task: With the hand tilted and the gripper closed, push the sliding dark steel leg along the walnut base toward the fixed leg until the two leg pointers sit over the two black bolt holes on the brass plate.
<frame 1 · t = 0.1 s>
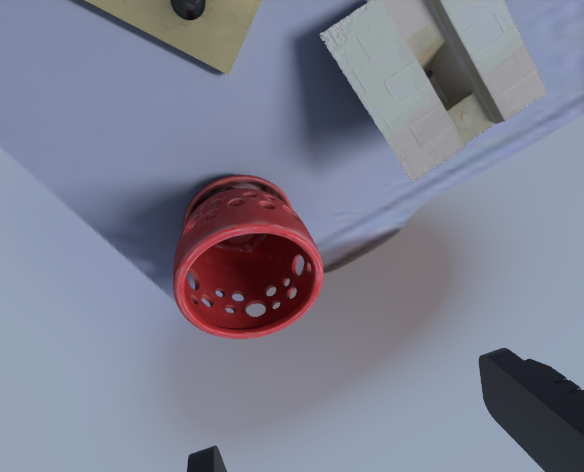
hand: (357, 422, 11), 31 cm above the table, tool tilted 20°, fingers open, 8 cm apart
plant pot: (233, 216, 43), on the table
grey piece: (410, 51, 38), on the table
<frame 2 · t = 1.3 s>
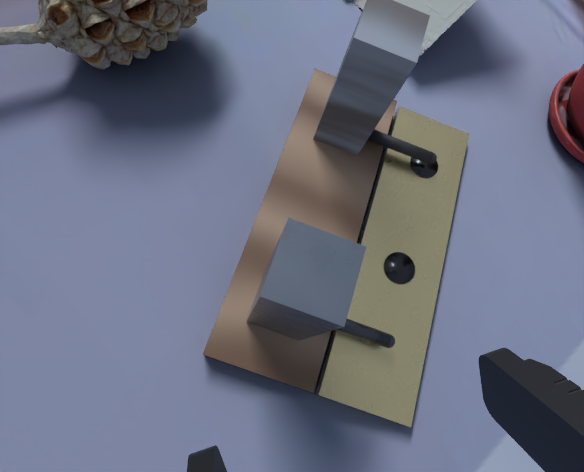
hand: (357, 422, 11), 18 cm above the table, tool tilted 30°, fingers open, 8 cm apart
bolt plate: (399, 249, 33), on the table
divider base: (310, 215, 33), on the table
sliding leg: (322, 301, 23), point 7 cm above the table, slide at 0.0 cm
pine cone: (89, 55, 34), on the table
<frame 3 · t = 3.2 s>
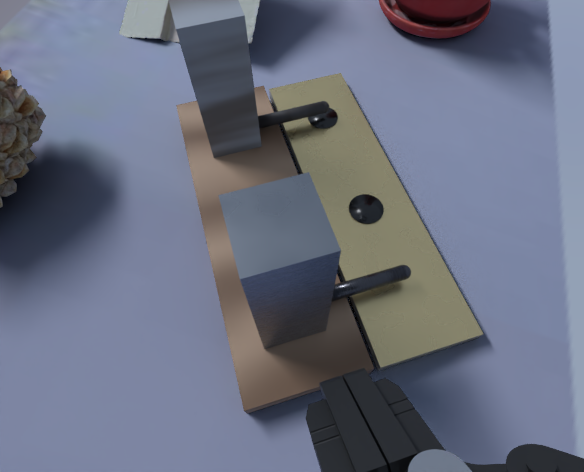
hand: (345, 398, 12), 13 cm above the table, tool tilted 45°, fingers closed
bolt plate: (354, 196, 32), on the table
plant pot: (431, 16, 43), on the table
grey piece: (208, 16, 45), on the table
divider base: (258, 221, 31), on the table
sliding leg: (314, 267, 21), point 7 cm above the table, slide at 0.0 cm
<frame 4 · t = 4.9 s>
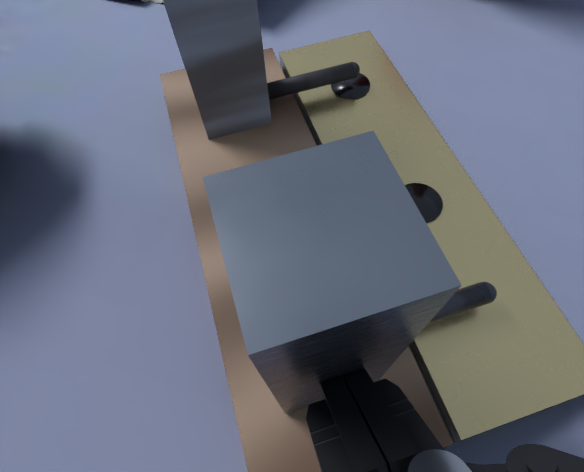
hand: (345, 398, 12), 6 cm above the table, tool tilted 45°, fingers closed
bolt plate: (398, 186, 23), on the table
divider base: (269, 223, 23), on the table
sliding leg: (368, 296, 13), point 7 cm above the table, slide at 0.0 cm, touching gripper
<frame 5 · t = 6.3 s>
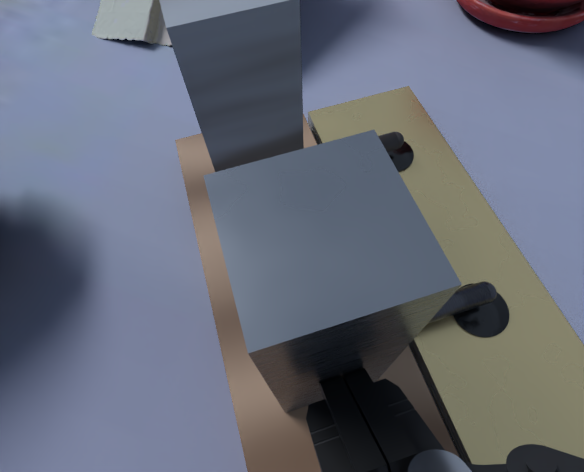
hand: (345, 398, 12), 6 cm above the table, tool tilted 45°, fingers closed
bolt plate: (452, 280, 20), on the table
plant pot: (519, 3, 32), on the table
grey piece: (210, 10, 34), on the table
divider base: (305, 327, 20), on the table
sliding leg: (368, 295, 13), point 7 cm above the table, slide at 6.4 cm, touching gripper
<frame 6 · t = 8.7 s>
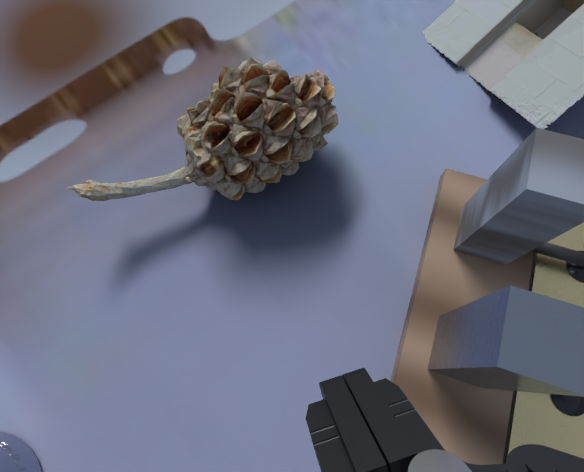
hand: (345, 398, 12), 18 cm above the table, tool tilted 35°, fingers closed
bolt plate: (563, 368, 30), on the table
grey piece: (517, 58, 40), on the table
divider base: (456, 333, 31), on the table
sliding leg: (524, 355, 23), point 7 cm above the table, slide at 6.5 cm
pine cone: (222, 179, 36), on the table
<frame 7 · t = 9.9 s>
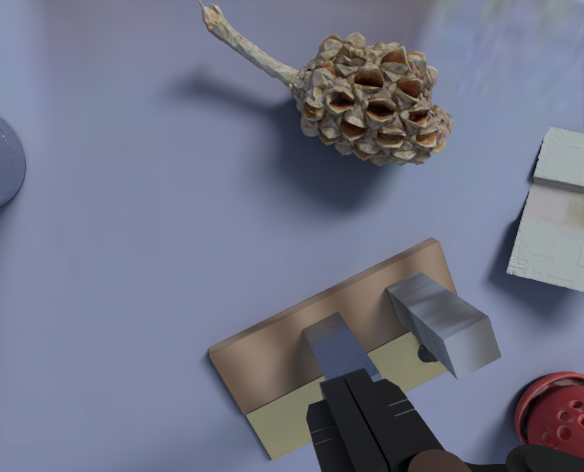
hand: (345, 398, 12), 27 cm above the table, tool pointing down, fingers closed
bolt plate: (362, 379, 45), on the table
plant pot: (544, 406, 51), on the table
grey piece: (564, 210, 45), on the table
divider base: (336, 322, 42), on the table
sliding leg: (351, 379, 36), point 7 cm above the table, slide at 6.5 cm
pine cone: (312, 91, 36), on the table
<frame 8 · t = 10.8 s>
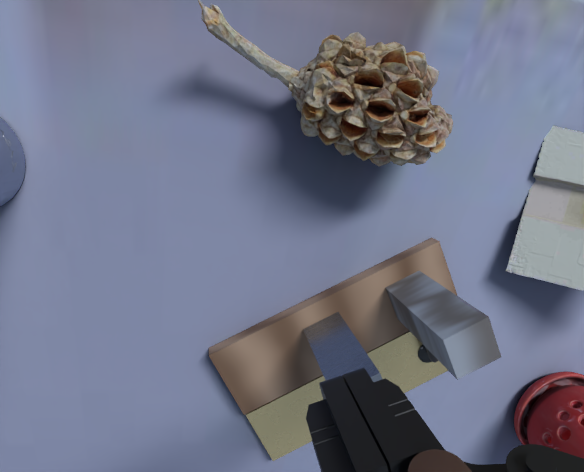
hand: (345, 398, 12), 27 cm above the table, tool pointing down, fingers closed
bolt plate: (362, 379, 45), on the table
plant pot: (543, 406, 51), on the table
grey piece: (564, 209, 45), on the table
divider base: (336, 322, 42), on the table
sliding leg: (350, 379, 36), point 7 cm above the table, slide at 6.5 cm
pine cone: (312, 91, 36), on the table
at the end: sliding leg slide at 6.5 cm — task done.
